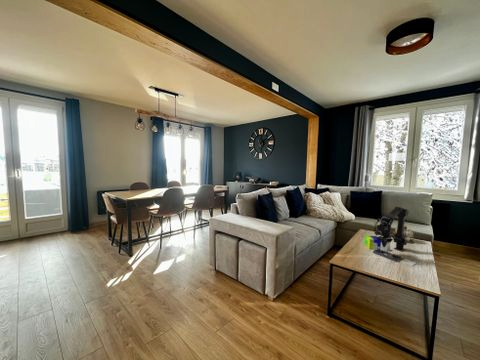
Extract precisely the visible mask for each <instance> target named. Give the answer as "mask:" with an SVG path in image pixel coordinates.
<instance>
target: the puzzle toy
mask: <svg viewBox="0 0 480 360" xmlns="http://www.w3.org/2000/svg"><path fill="white" fill-rule="evenodd" d="M377 237H378V235H366V234H365V236H364V246H365V247H366V248H367V249H369V250H373V251H374V250H377V249H381V241H380V240H377Z"/></svg>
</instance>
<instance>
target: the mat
mask: <svg viewBox="0 0 480 360" xmlns="http://www.w3.org/2000/svg"><path fill="white" fill-rule="evenodd" d="M399 262H400V263H404V264H405V265H407V266H411V267H412V266H415V265H417V262H414V261H412V260H408V259H405V258H404V259H403V258H402V260H399Z"/></svg>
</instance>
